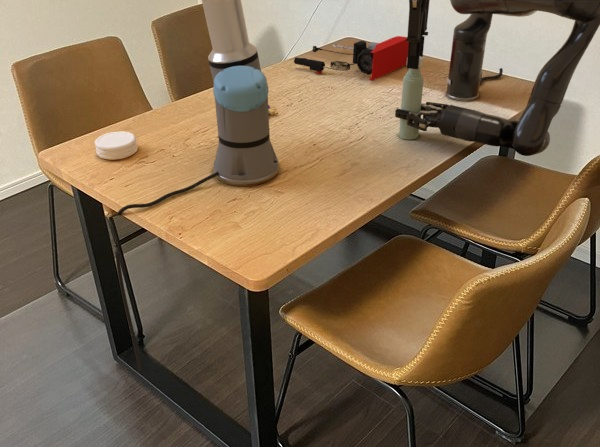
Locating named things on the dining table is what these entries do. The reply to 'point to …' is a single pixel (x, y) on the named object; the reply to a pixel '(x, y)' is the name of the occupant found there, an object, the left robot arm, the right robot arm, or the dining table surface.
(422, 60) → the cap
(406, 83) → the bottle
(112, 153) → the white thick disc
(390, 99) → the dining table surface
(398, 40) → the electric hoist
